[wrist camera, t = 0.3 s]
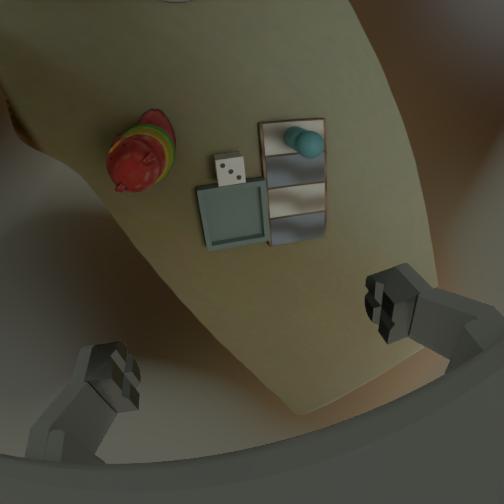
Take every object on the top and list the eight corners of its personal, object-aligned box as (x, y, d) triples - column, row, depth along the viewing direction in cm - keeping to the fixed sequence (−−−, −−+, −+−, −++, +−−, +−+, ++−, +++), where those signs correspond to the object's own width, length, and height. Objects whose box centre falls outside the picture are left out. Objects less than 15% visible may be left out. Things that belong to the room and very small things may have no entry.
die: (213, 155, 51) (215, 160, 47) (239, 151, 51) (243, 156, 48) (216, 179, 53) (218, 186, 49) (241, 175, 54) (245, 182, 50)
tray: (196, 186, 53) (196, 191, 51) (262, 176, 54) (265, 180, 52) (206, 245, 59) (207, 251, 57) (267, 235, 61) (270, 240, 59)
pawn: (281, 126, 49) (300, 133, 41) (306, 124, 49) (328, 132, 41) (283, 150, 51) (301, 162, 43) (307, 148, 52) (329, 160, 44)
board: (257, 122, 49) (259, 123, 48) (322, 118, 51) (325, 118, 49) (268, 243, 62) (269, 247, 60) (323, 234, 63) (326, 237, 62)
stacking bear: (156, 103, 44) (138, 109, 29) (191, 148, 50) (191, 175, 34) (108, 143, 46) (71, 169, 31) (142, 186, 51) (123, 228, 36)
